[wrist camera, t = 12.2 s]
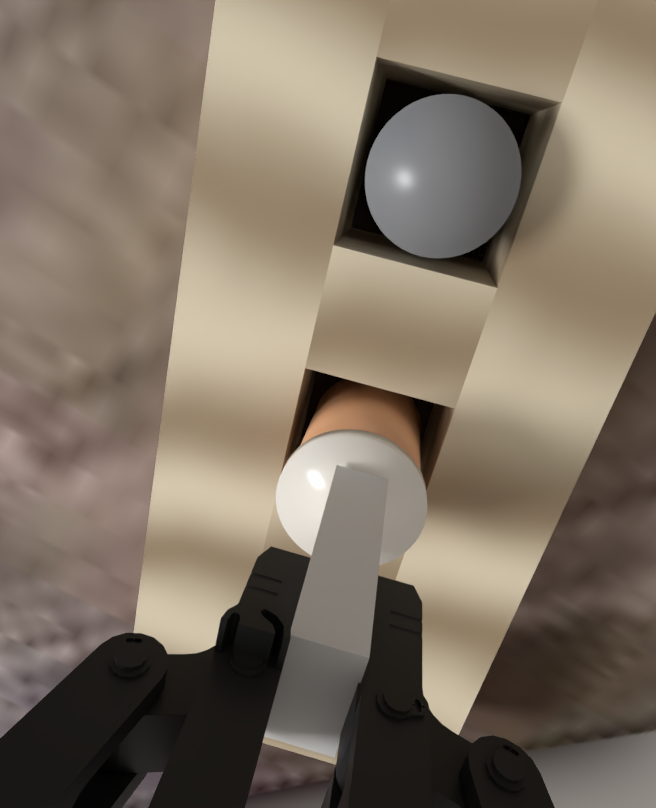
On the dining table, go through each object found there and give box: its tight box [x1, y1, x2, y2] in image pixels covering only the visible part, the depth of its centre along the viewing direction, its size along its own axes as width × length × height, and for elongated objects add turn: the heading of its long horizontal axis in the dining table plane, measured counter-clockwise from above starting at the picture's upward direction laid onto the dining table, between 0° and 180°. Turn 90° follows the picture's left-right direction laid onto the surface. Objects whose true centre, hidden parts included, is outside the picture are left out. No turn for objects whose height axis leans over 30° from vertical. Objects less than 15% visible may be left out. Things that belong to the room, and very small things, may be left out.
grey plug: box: [365, 94, 522, 258], centre depth 18 cm, size 4×4×6 cm
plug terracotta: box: [276, 379, 427, 565], centre depth 20 cm, size 4×4×6 cm
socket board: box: [134, 0, 656, 764], centre depth 23 cm, size 30×14×5 cm, turn 167°
